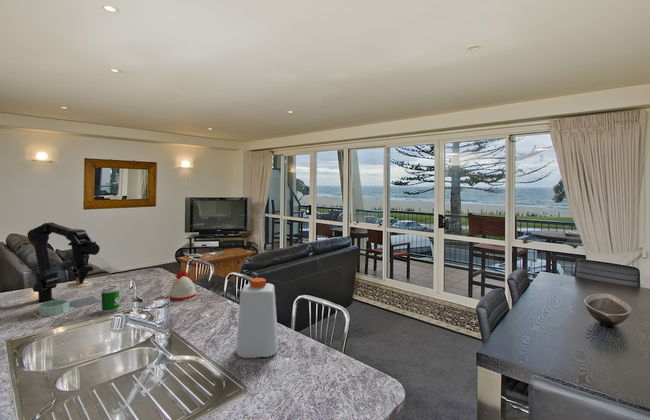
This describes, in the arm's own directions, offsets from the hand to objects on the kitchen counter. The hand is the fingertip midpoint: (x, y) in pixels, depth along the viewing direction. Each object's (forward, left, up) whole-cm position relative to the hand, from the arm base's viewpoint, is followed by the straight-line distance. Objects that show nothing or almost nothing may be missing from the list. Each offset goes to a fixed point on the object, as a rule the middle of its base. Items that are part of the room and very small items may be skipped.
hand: (79, 282), depth 174 cm
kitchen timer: (+33, +39, -12) cm, 52 cm away
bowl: (+4, -12, -11) cm, 17 cm away
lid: (0, 0, -1) cm, 1 cm away
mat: (0, +2, -11) cm, 12 cm away
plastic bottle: (+113, +20, -12) cm, 115 cm away
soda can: (+24, +5, -12) cm, 27 cm away
